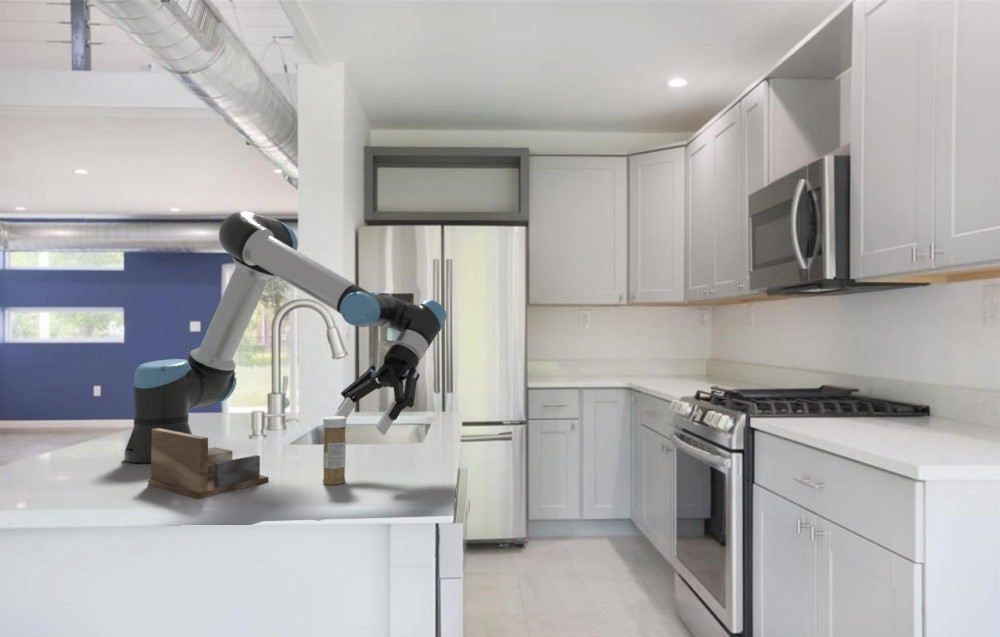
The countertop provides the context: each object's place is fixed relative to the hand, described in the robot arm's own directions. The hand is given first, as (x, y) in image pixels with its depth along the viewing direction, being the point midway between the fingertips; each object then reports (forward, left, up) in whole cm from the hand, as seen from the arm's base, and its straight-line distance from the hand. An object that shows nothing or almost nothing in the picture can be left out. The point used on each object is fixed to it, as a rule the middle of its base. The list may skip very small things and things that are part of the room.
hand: (356, 427), depth 125 cm
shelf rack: (+1, -29, -11) cm, 31 cm away
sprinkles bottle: (+3, -4, -11) cm, 12 cm away
